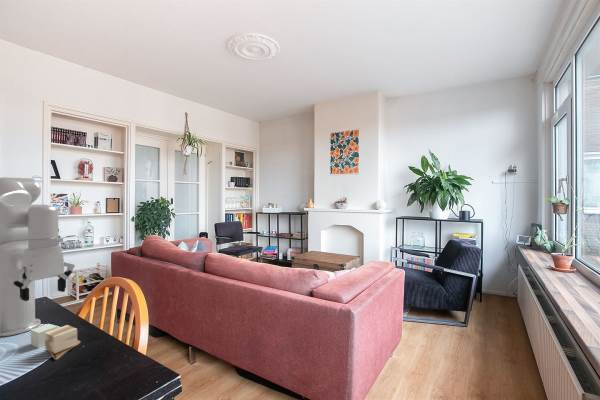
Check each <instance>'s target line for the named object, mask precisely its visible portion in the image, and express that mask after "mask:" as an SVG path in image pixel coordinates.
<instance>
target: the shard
mask: <svg viewBox="0 0 600 400" xmlns="http://www.w3.org/2000/svg"><path fill="white" fill-rule="evenodd" d="M79 344H81V340H78V339H77V345H75V346H72V347H70V348H67V349H65V350H62V351H60V352H57V353H53V352H51V351H49V350H47V351H48V352H49V353H50V355H51V357H52V358H53V359H54V360H55V361H57V360H59V359H60V358H62V357H63V356H64V355H65V354H66V353H67V352H69V351H70V350H72V349H73V348H75V347H77V346H78V345H79Z"/></svg>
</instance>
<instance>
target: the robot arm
mask: <svg viewBox="0 0 600 400" xmlns="http://www.w3.org/2000/svg"><path fill="white" fill-rule="evenodd" d="M41 189H42V188H41V185H40V183H39V182H38V181H37V180H35V179H33V178H26V177H7V176H5V177H0V337H7V336H8V337H9V336H14V335H18V334H23V333H27V332H29V331H31V329H35V328H38V327H40V326H41V323H42V322H41V319H39V318H36V296H35V295H36V288H35V287H36V281H39V280H45V279H49V278H54V277H58V279H57V291H58V292H60V293H61V292H62V293H64V292H66V289H67V280H68V279H69V276H71V274H72V273H73V270H74V268H75V264H73V263H70V262H65V261H64V255H63V254H64V253H63V249H62V247H61V245H60V243H61V242H62V243H63V241H64V238H63V237H59V208H58V207H57V206H54V205H48V204H34V202H36V200H38V199H39V197H40V196H41V194H42V193H41V191H42V190H41ZM65 268H67V269H66V270H65Z"/></svg>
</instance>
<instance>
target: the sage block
mask: <svg viewBox="0 0 600 400" xmlns="http://www.w3.org/2000/svg"><path fill="white" fill-rule="evenodd" d="M57 328H58V326H57V325H54V324H50V323H47V324H44V325H40V326H37V327H36V328H34V329H31V330H30V345H31V346H32V347H35V348H37V349H40V348H43V347H44V348H45V332H48V331H51V330H54V329H57Z"/></svg>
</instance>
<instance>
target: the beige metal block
mask: <svg viewBox="0 0 600 400" xmlns="http://www.w3.org/2000/svg"><path fill="white" fill-rule="evenodd" d="M77 340H78V328H76V327H74V326H71V325H69V324H66V325H64V326H61V327H57V329H54V330H51V331H48V332H45V346H44V349H45V350H47V351H48V350H49V351H51V352H53V353H57V352H60V351H62V350H65V349H67V348H70V347H72V346H75V345H76V346H78V345H77ZM76 346H75V347H76ZM49 351H48V352H49Z"/></svg>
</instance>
